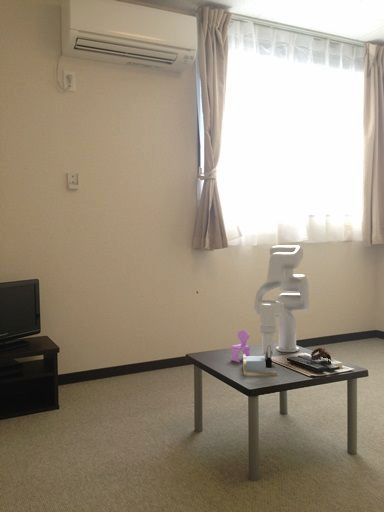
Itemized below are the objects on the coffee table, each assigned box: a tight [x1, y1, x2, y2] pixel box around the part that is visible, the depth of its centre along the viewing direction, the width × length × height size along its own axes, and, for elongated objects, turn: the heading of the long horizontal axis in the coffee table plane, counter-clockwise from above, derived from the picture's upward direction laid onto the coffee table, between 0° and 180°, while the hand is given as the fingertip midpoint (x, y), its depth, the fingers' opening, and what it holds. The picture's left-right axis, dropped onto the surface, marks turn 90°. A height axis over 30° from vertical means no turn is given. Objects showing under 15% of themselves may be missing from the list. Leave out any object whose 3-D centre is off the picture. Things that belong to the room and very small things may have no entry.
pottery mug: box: [310, 347, 332, 361], centre depth 239 cm, size 12×10×8 cm
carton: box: [246, 355, 267, 372], centre depth 225 cm, size 9×9×6 cm
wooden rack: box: [242, 353, 278, 377], centre depth 225 cm, size 16×15×6 cm
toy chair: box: [230, 329, 251, 363], centre depth 245 cm, size 8×9×15 cm
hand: (268, 367), depth 225 cm, fingers closed
